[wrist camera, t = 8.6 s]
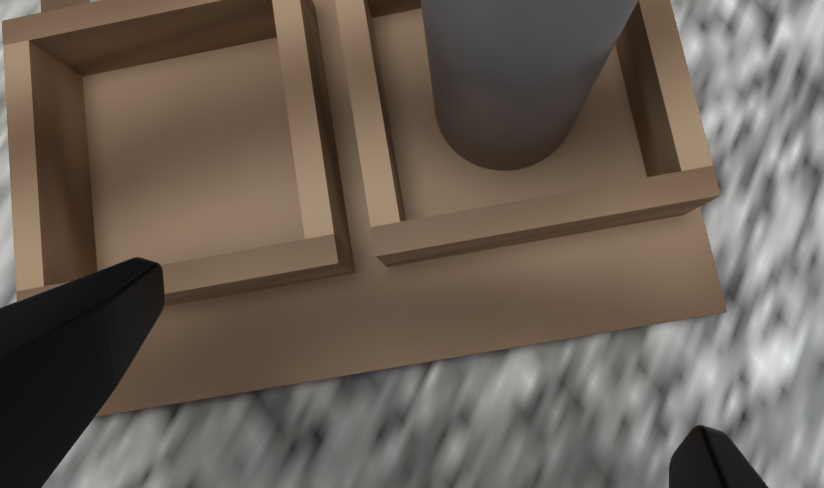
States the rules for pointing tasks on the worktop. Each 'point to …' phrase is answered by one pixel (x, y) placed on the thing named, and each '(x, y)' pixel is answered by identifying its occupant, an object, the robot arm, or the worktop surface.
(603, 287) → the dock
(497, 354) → the worktop surface
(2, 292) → the worktop surface
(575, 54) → the grey bottle
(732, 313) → the worktop surface
